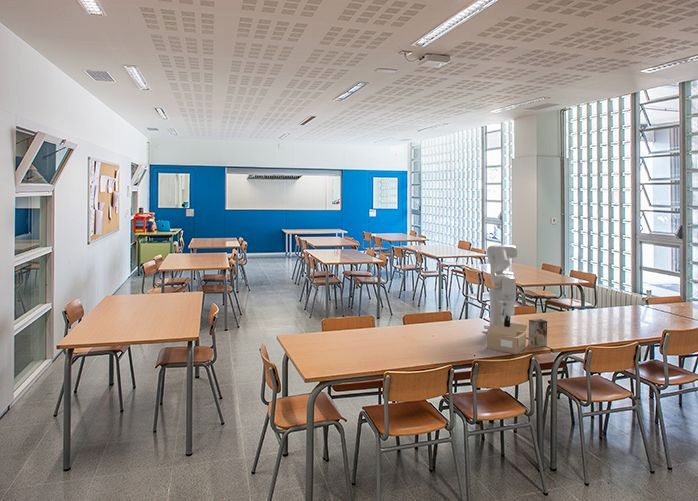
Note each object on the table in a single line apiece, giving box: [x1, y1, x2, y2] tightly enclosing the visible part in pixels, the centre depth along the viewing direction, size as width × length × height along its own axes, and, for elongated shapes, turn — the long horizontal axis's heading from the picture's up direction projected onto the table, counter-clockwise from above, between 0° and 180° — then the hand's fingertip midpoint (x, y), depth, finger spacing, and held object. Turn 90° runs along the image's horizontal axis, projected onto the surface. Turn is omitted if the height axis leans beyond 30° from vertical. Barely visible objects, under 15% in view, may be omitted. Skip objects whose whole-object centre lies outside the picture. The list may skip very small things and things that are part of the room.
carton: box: [486, 331, 527, 355], centre depth 304 cm, size 19×16×10 cm
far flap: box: [500, 321, 528, 332], centre depth 312 cm, size 16×5×1 cm
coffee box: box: [527, 318, 548, 348], centre depth 310 cm, size 9×6×16 cm
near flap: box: [489, 324, 517, 337], centre depth 298 cm, size 16×5×1 cm
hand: (507, 326), depth 303 cm, fingers closed
